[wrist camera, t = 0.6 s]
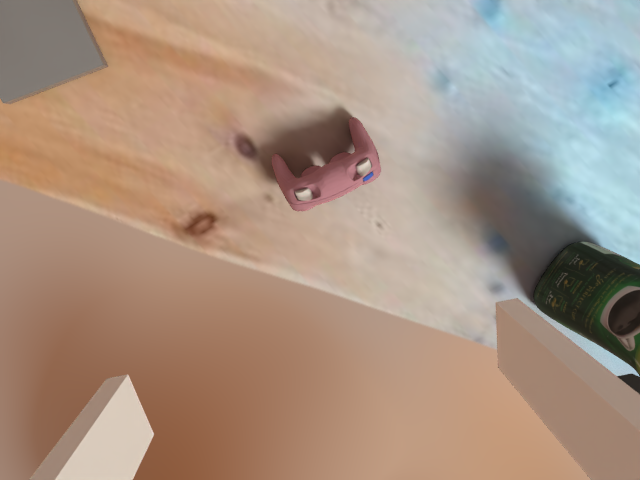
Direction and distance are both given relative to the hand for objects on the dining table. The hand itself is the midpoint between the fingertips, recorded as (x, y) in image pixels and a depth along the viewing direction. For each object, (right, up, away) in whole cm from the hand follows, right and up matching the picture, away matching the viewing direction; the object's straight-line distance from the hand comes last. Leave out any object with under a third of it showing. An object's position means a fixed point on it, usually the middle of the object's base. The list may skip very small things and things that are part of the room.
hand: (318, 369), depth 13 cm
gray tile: (-26, +23, +19) cm, 39 cm away
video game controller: (0, +12, +24) cm, 27 cm away
